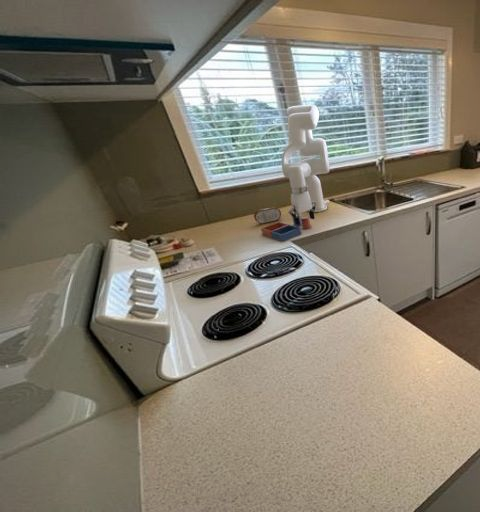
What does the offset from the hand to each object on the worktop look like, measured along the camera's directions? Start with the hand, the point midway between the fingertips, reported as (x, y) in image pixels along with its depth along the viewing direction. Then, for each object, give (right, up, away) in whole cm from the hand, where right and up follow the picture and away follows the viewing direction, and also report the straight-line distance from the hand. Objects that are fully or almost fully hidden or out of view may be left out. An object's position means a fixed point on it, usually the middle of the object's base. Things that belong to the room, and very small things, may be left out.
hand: (305, 221), depth 160 cm
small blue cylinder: (-6, -1, +7) cm, 9 cm away
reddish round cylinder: (0, -3, +2) cm, 4 cm away
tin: (-25, +2, +16) cm, 30 cm away
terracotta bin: (-15, -6, -1) cm, 16 cm away
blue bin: (-8, -8, -7) cm, 13 cm away
